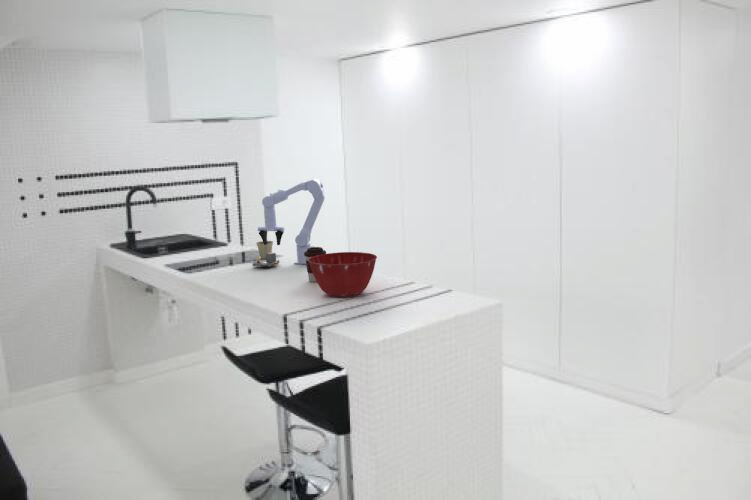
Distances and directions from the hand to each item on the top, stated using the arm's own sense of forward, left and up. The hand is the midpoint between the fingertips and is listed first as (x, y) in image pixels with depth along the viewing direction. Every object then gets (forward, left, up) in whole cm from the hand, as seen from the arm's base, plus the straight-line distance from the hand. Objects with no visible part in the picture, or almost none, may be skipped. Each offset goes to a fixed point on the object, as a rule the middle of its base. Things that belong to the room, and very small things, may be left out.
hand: (272, 244), depth 348 cm
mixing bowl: (-62, +55, -10) cm, 84 cm away
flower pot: (+12, -14, -10) cm, 21 cm away
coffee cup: (-40, +34, -10) cm, 53 cm away
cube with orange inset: (-3, +8, -7) cm, 12 cm away
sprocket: (0, +8, -9) cm, 12 cm away
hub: (0, +8, -10) cm, 13 cm away
